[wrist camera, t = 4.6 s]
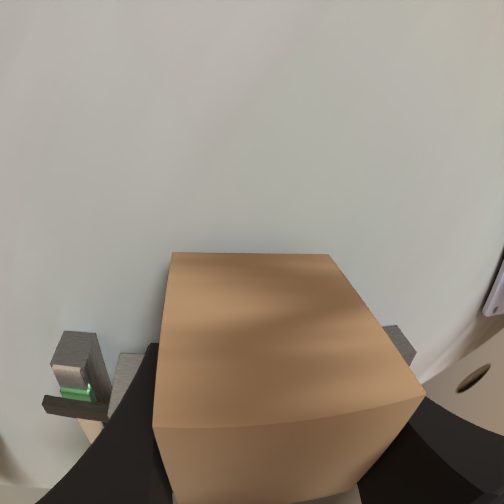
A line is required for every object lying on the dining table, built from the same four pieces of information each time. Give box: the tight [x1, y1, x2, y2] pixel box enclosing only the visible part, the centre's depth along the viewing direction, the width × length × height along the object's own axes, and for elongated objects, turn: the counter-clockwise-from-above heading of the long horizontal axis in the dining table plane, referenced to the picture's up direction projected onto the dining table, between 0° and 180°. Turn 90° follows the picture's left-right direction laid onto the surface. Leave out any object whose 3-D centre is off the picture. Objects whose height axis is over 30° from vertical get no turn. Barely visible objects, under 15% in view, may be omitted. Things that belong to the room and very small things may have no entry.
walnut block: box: [152, 252, 426, 504], centre depth 8 cm, size 5×5×6 cm
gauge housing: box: [50, 325, 417, 504], centre depth 12 cm, size 15×8×4 cm, turn 85°
